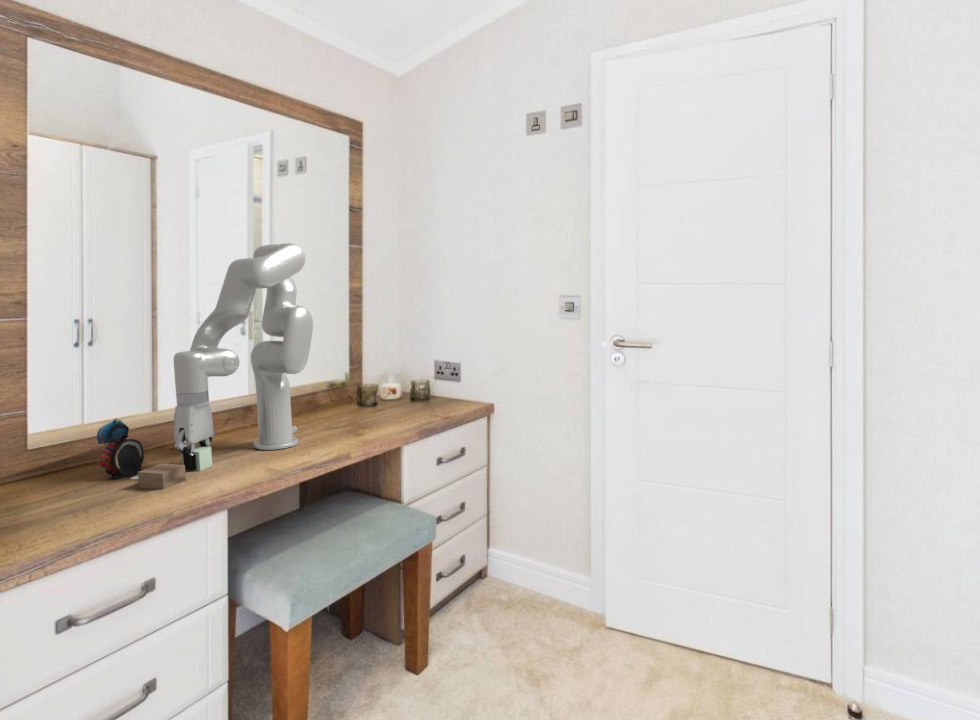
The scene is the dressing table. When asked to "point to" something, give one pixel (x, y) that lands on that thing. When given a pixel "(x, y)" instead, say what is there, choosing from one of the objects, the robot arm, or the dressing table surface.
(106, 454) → the figurine
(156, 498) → the dressing table surface
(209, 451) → the sage cube
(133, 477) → the tile
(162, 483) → the walnut base
